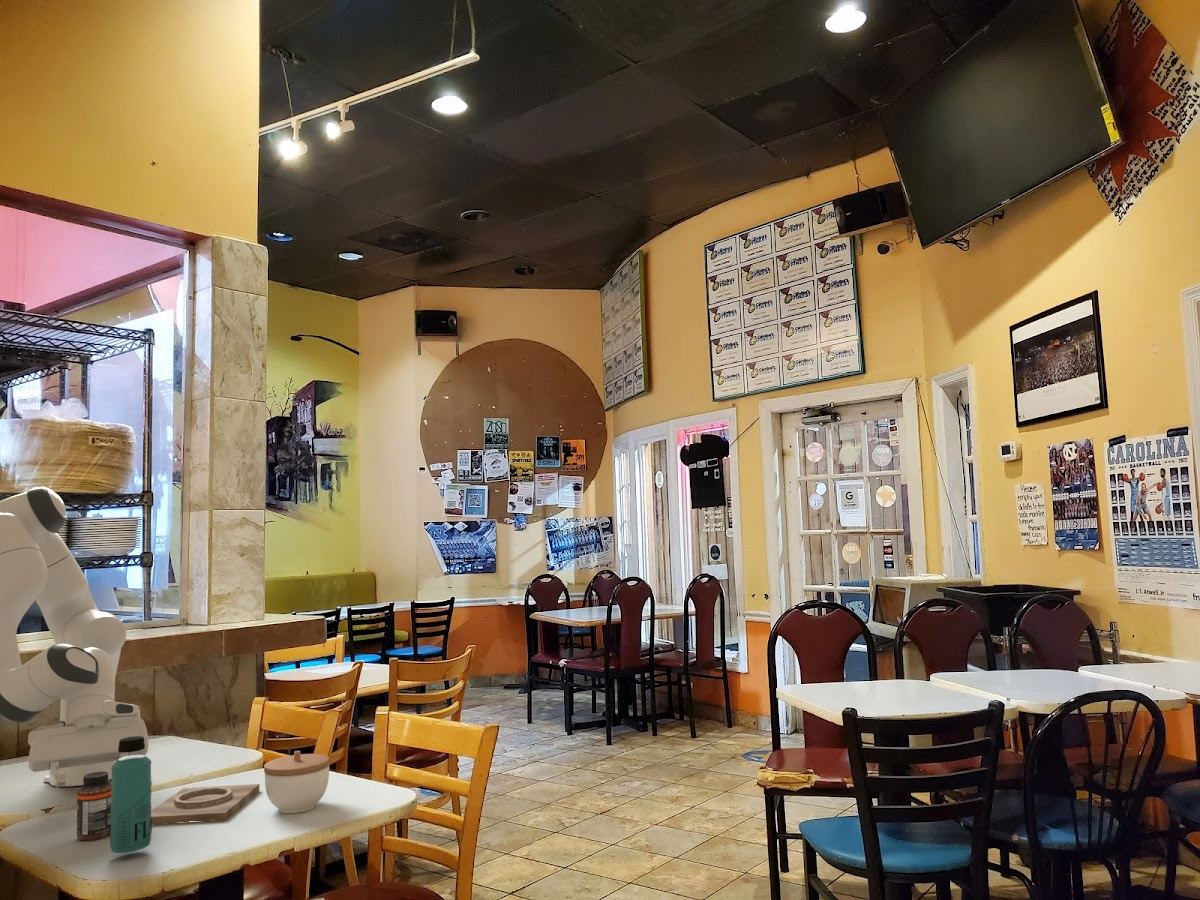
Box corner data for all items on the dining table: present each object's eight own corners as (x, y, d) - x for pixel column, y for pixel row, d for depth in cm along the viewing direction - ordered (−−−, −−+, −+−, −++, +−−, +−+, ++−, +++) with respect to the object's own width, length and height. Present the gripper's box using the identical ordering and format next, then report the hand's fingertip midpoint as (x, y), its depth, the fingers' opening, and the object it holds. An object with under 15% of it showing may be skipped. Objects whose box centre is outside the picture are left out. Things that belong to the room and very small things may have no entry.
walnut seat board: (183, 795, 188) (183, 783, 188) (259, 791, 189) (259, 779, 189) (140, 825, 168) (140, 812, 168) (225, 820, 169) (225, 807, 169)
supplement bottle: (78, 834, 164) (80, 772, 166) (114, 829, 167) (115, 767, 168) (73, 844, 159) (75, 779, 160) (111, 838, 161) (112, 775, 162)
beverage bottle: (133, 863, 148) (135, 741, 150) (99, 861, 149) (101, 741, 151) (160, 849, 154) (161, 733, 156) (127, 848, 156) (129, 733, 158)
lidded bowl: (266, 821, 168) (266, 762, 169) (261, 805, 179) (261, 749, 180) (334, 810, 173) (334, 753, 174) (325, 795, 184) (325, 741, 185)
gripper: (28, 717, 169) (24, 780, 159) (147, 704, 179) (150, 763, 170) (28, 737, 172) (24, 800, 163) (145, 723, 183) (147, 781, 173)
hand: (89, 781), depth 166 cm, fingers open, 8 cm apart
